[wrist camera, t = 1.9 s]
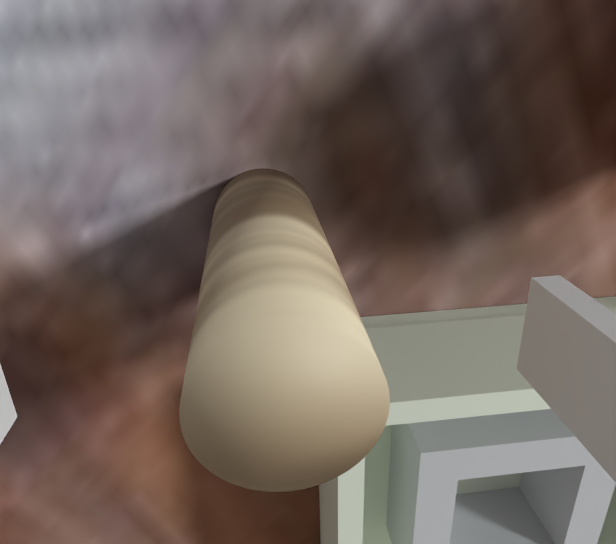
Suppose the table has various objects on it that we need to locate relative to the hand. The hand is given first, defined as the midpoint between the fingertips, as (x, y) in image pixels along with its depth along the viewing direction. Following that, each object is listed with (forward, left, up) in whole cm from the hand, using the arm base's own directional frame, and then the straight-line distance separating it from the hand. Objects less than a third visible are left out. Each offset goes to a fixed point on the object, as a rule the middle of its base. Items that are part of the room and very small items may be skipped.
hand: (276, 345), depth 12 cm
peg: (0, 0, -9) cm, 9 cm away
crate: (+13, +10, -9) cm, 18 cm away
